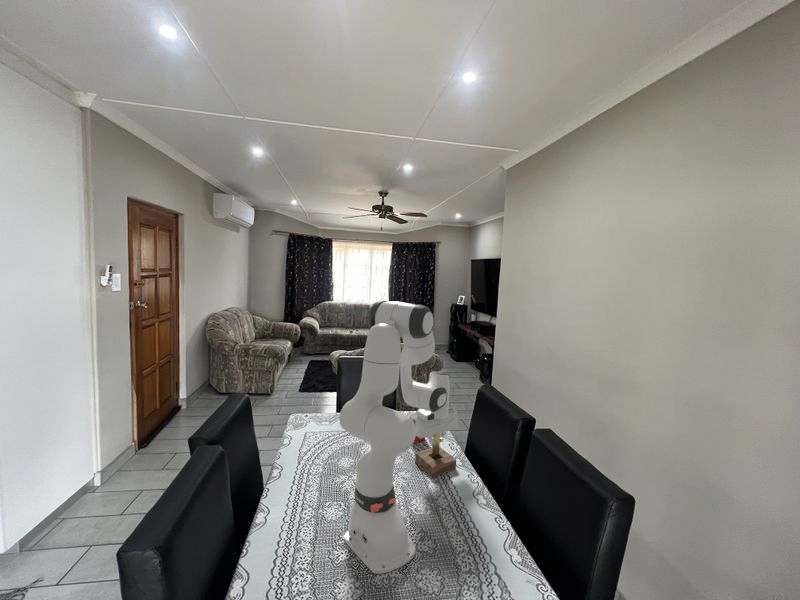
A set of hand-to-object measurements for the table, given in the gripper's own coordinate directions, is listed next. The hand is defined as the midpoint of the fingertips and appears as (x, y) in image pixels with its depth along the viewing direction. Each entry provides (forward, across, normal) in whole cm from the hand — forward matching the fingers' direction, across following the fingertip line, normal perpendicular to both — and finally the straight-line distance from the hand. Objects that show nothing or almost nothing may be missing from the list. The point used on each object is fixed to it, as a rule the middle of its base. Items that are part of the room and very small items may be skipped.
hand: (436, 442), depth 136 cm
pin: (+4, 0, 0) cm, 4 cm away
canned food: (+10, -6, -22) cm, 25 cm away
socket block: (+10, 0, 0) cm, 10 cm away
